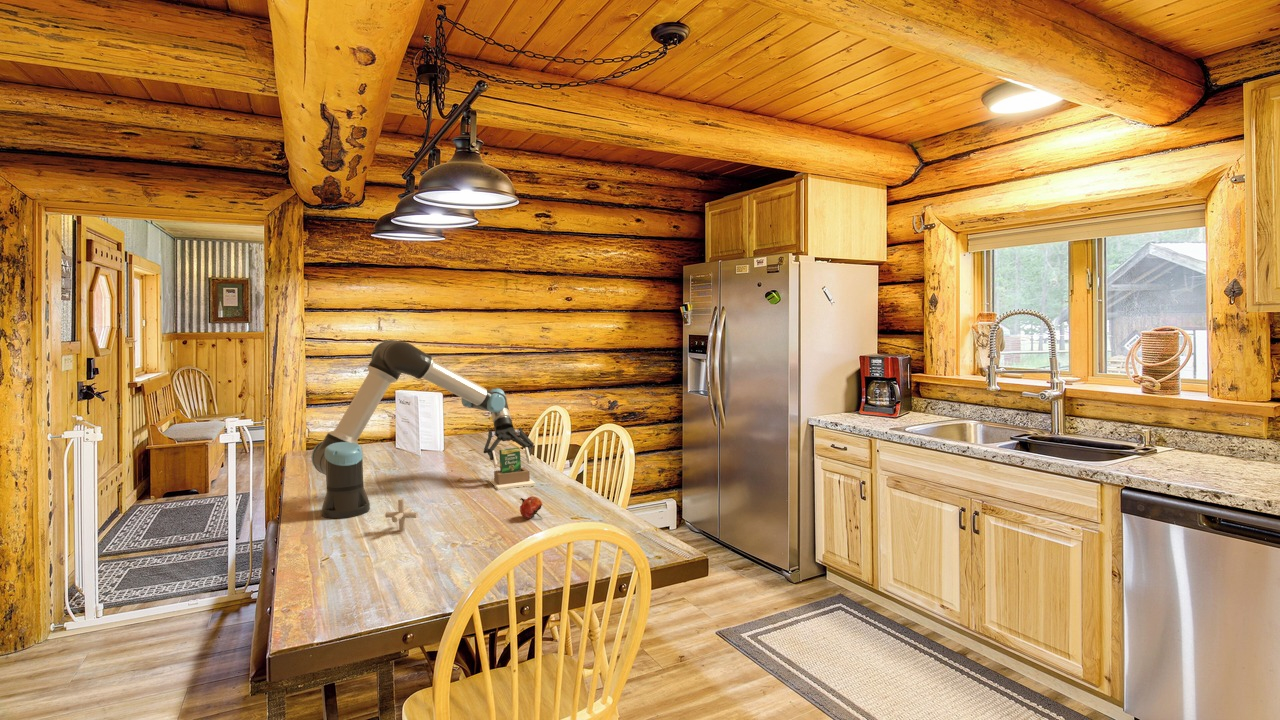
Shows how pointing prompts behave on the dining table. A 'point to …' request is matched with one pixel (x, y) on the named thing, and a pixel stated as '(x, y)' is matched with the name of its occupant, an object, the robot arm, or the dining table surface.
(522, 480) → the socket board
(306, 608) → the dining table surface
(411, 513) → the pipe connector
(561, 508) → the dining table surface
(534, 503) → the pomegranate
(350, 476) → the robot arm
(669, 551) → the dining table surface
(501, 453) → the coffee box
